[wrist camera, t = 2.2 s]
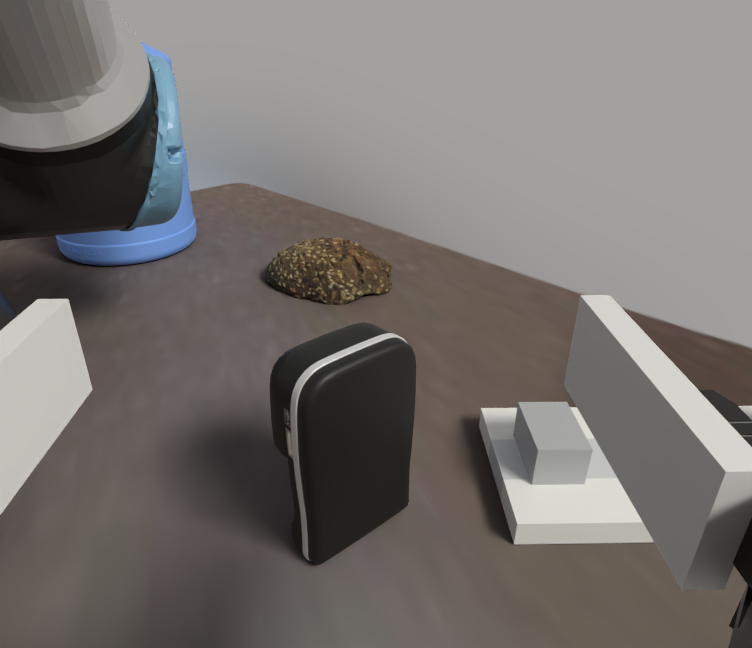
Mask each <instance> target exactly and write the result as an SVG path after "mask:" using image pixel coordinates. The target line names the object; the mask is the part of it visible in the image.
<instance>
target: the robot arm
mask: <svg viewBox="0 0 752 648" xmlns="http://www.w3.org/2000/svg"><path fill="white" fill-rule="evenodd" d="M181 137H182V135H181V123H180V113H179V105H178V97H177V91H176V86H175V81H174V77H173V73H172V70H171V68H170V66H169V64H168V63H167V62H166V60H164V59H163V58H161V57H158V56H152V55H151V54H149V53H146V52H145V50H144V48H143V46H142V44H141V42H140V40H139V38H138V36H137V35H136V34H135V32H134V31H133V30H132V29H131V28H130V26H129V25H127V24H126V23H125V22H124V21H123V20H122V19H121V18H120V17H118V16H117V15H116V14H114V13H113V12H111V11H110V7H109V2H108V0H0V241H2V240H12V239H23V238H34V237H44V236H55V235H66V234H76V233H89V232H102V231H114V230H119V231H132V230H134V229H135V228H137V227H144V226H151V225H158V224H163V223H166V222H168V221H169V220H171V219H172V218H173V217H174V216H175V215H176V213H177V211H178V209H179V207H180V203H181V197H182V186H183V161H182V155H181V152H180V151H181ZM564 386H565V387H566V389H567V391H568V393H569V394H570V396H571V398H572V400H573V401H574V403H575V405H576V407H577V408H578V410H579V412H580V413H581V415H582V417H583V419H584V420H585V422H586V424H587V426H588V427H589V429H590V431H591V433H592V434H593V436H594V438H595V440H596V441H597V443H598V445H599V447H600V448H601V450H602V452H603V454H604V455H605V457H606V459H607V461H608V462H609V464H610V466H611V468H612V469H613V471H614V473H615V475H616V476H617V478H618V480H619V482H620V483H621V485H622V487H623V489H624V490H625V492H626V494H627V495H628V497H629V499H630V501H631V502H632V504H633V506H634V508H635V509H636V511H637V513H638V515H639V516H640V518H641V520H642V522H643V523H644V525H645V527H646V529H647V530H648V532H649V534H650V536H651V537H652V539H653V541H654V543H655V544H656V546H657V548H658V550H659V551H660V553H661V555H662V557H663V558H664V560H665V562H666V564H667V565H668V567H669V569H670V571H671V572H672V574H673V576H674V577H675V579H676V581H677V583H678V584H679V586H680V588H681V590H716V589H724V588H725V586H726V583H727V581H728V578H729V576H730V574H731V571H732V569H733V567H734V566H735V567H736V568H737V570H738V571H739V573H740V574H741V576H742V577H743V578H744V580H745V581H746V583H747V584H748V585H747V587H746V589H745V592H744V594H743V596H742V598H741V601H740V603H739V605H738V607H737V610H736V612H735V614H734V616H733V618H732V621H731V623H730V625H729V626H730V627H731V628H733V633H732V636H731V640H730V644H729V648H752V420H751V419H750V418H749V417H748V416H747V415H746V414H745V413H744V412H743V411H742V410H741V409H740V408H739V407H738V406H737V405H736V404H735V403H733V402H732V401H730V400H728V399H727V398H725V397H723V396H722V395H720V394H718V393H716V392H715V391H713V390H698V389H697V388H696V387H695V386H694V385H693V384H692V383H691V382H690V381H689V380H688V379H687V378H686V376H685V375H684V374H683V373H682V372H681V371H680V370H679V369H678V368H677V367H676V366H675V365H674V364H673V363H672V361H671V360H670V359H669V358H668V357H667V356H666V355H665V354H664V353H663V352H662V351H661V350H660V349H659V348H658V346H657V345H656V344H655V343H654V342H653V341H652V340H651V339H650V338H649V337H648V336H647V335H646V334H645V333H644V331H643V330H642V329H641V328H640V327H639V326H638V325H637V324H636V323H635V322H634V321H633V320H632V319H631V318H630V317H629V315H628V314H627V313H626V312H625V311H624V310H623V309H622V308H621V307H620V306H619V305H618V304H617V303H616V302H615V300H614V299H613V298H612V297H611V296H610V295H581V296H580V301H579V306H578V312H577V317H576V322H575V328H574V333H573V338H572V344H571V349H570V355H569V360H568V365H567V371H566V376H565V381H564ZM92 390H93V389H92V386H91V382H90V378H89V374H88V371H87V367H86V363H85V359H84V356H83V352H82V348H81V344H80V341H79V337H78V333H77V329H76V326H75V322H74V318H73V314H72V311H71V307H70V303H69V300H68V299H37V300H36V301H35V302H34V303H32V304H31V305H30V306H29V307H28V308H26V309H25V310H24V311H23V312H22V313H21V314H19V315H17V313H16V312H15V310H14V309H13V307H12V306H11V305H10V303H9V302H8V301H7V299H6V298H5V297H4V295H3V294H2V293H1V291H0V515H1V513H2V512H3V511H4V509H5V508H6V506H7V505H8V504H9V502H10V501H11V500H12V498H13V497H14V496H15V494H16V493H17V492H18V490H19V489H20V487H21V486H22V485H23V483H24V482H25V481H26V479H27V478H28V477H29V475H30V474H31V473H32V471H33V470H34V468H35V467H36V466H37V464H38V463H39V462H40V460H41V459H42V458H43V456H44V455H45V453H46V452H47V451H48V449H49V448H50V447H51V445H52V444H53V443H54V441H55V440H56V439H57V437H58V436H59V434H60V433H61V432H62V430H63V429H64V428H65V426H66V425H67V424H68V422H69V421H70V419H71V418H72V417H73V415H74V414H75V413H76V411H77V410H78V409H79V407H80V406H81V405H82V403H83V402H84V400H85V399H86V398H87V396H88V395H89V394H90V392H91V391H92Z"/></svg>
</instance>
